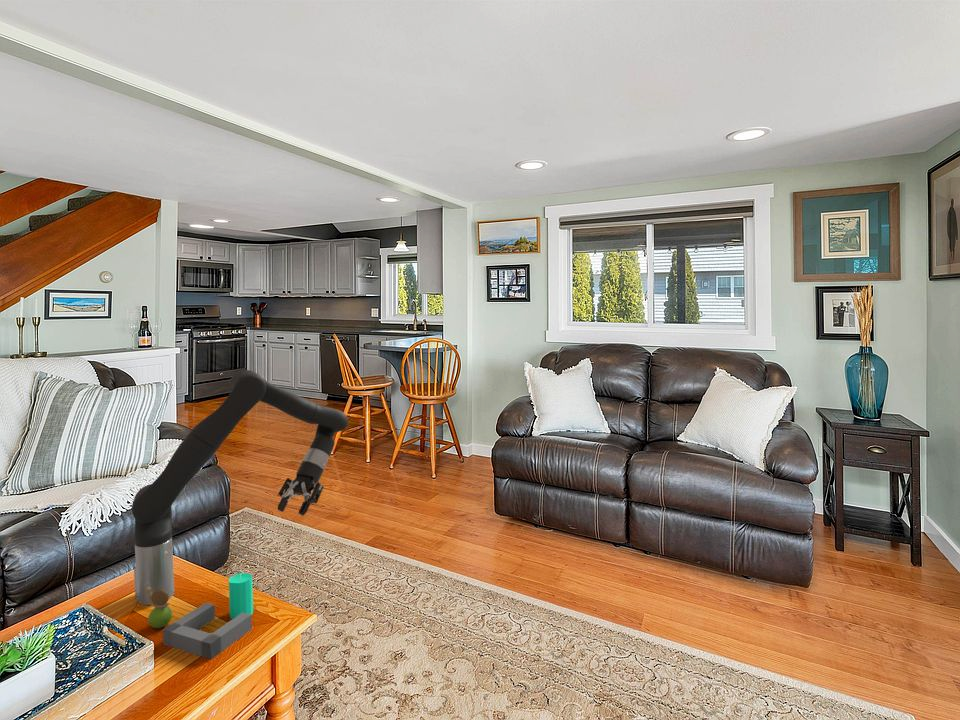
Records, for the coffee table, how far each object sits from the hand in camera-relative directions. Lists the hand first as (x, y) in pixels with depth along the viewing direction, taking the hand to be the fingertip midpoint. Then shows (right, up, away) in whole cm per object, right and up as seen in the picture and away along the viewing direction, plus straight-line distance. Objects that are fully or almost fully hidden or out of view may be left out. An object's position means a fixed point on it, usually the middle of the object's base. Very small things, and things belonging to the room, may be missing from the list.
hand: (290, 512), depth 160 cm
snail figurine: (-27, -24, -22) cm, 42 cm away
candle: (-8, -24, -16) cm, 30 cm away
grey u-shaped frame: (-12, -24, -26) cm, 38 cm away
